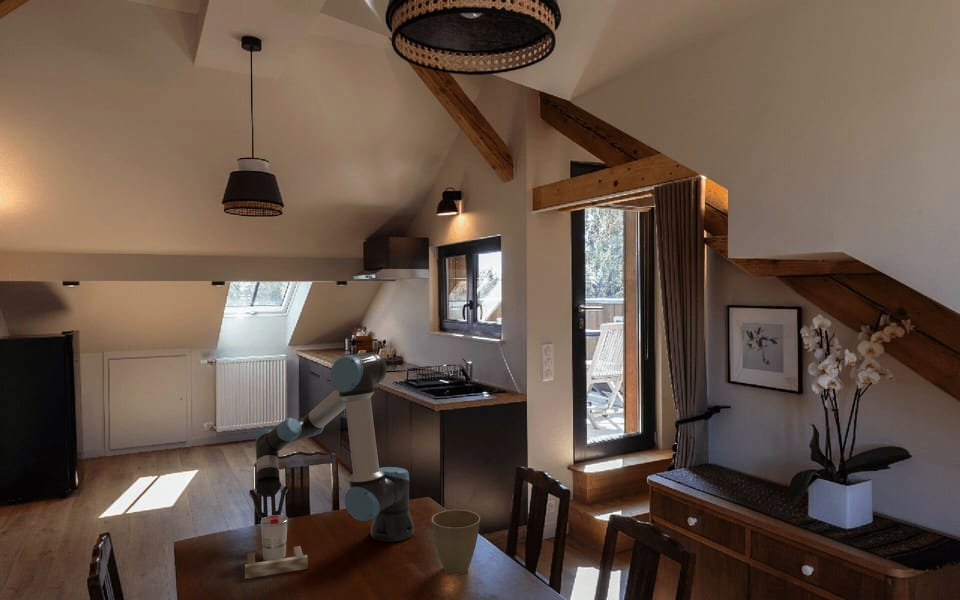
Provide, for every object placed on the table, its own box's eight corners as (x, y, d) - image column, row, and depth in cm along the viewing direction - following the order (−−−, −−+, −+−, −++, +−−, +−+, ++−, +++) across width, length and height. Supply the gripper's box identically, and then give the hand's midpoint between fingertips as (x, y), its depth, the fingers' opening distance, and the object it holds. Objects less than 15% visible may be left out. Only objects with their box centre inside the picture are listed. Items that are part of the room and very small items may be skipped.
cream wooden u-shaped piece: (303, 554, 200) (303, 543, 200) (307, 568, 190) (307, 557, 190) (244, 563, 193) (244, 552, 193) (245, 578, 183) (245, 567, 183)
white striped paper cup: (293, 551, 203) (293, 514, 203) (285, 562, 194) (285, 524, 194) (263, 551, 203) (263, 514, 203) (254, 562, 194) (254, 524, 194)
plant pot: (425, 564, 193) (425, 513, 193) (469, 556, 199) (469, 507, 199) (441, 585, 179) (441, 530, 179) (487, 575, 185) (487, 523, 185)
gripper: (286, 474, 223) (290, 538, 208) (248, 478, 218) (249, 543, 203) (287, 464, 218) (292, 528, 203) (248, 467, 213) (249, 533, 198)
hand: (270, 535), depth 203 cm, fingers closed
